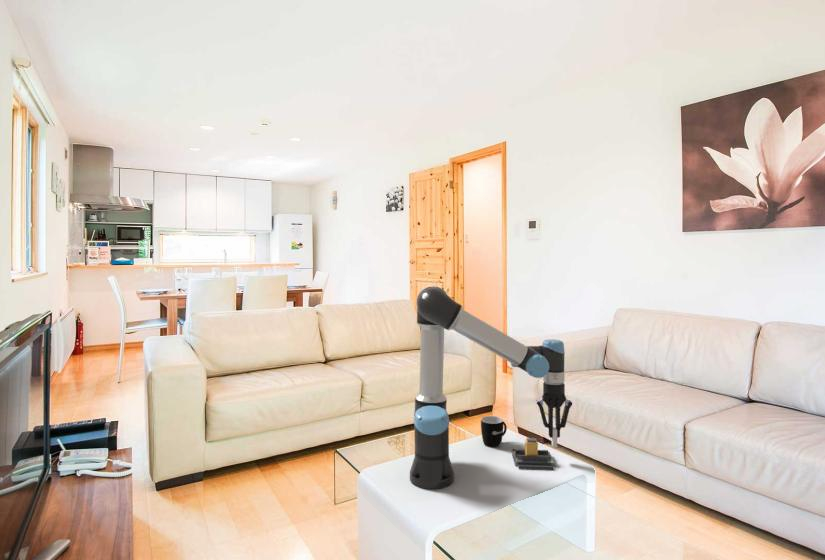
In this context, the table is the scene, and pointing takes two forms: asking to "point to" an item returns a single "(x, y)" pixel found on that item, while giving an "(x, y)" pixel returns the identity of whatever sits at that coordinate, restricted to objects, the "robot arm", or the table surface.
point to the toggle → (531, 446)
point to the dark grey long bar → (536, 467)
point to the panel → (533, 458)
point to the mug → (492, 430)
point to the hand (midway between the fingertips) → (554, 445)
